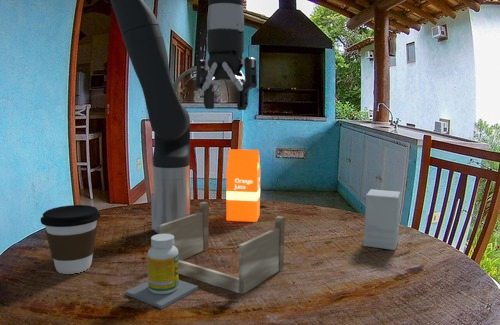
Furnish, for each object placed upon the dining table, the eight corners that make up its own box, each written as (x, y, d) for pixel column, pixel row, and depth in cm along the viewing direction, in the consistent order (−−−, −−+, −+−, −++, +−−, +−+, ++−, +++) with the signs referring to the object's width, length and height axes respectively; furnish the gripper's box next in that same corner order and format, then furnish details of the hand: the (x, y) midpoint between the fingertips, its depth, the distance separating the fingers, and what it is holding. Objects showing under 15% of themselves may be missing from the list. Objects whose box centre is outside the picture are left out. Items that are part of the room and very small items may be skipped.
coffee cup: (60, 258, 91) (56, 203, 89) (110, 259, 91) (108, 204, 89) (32, 279, 80) (28, 218, 79) (89, 280, 80) (86, 219, 78)
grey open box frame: (159, 267, 87) (158, 215, 85) (203, 248, 98) (203, 201, 97) (244, 294, 75) (244, 234, 73) (283, 269, 87) (284, 217, 85)
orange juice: (231, 213, 129) (231, 147, 126) (260, 214, 127) (261, 148, 124) (226, 220, 121) (226, 150, 118) (256, 222, 120) (257, 151, 117)
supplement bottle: (148, 283, 78) (146, 233, 76) (177, 281, 79) (177, 231, 78) (148, 296, 73) (147, 242, 71) (180, 293, 74) (179, 240, 72)
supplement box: (398, 241, 105) (402, 191, 103) (395, 251, 98) (398, 197, 96) (368, 237, 108) (370, 188, 106) (362, 246, 101) (365, 194, 99)
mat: (125, 294, 75) (125, 291, 75) (162, 277, 82) (162, 274, 82) (161, 308, 70) (161, 305, 70) (198, 289, 77) (198, 286, 77)
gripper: (187, 29, 88) (187, 108, 90) (243, 23, 80) (242, 110, 82) (210, 34, 94) (210, 108, 96) (264, 29, 86) (263, 110, 89)
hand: (225, 109), depth 89 cm, fingers open, 8 cm apart
